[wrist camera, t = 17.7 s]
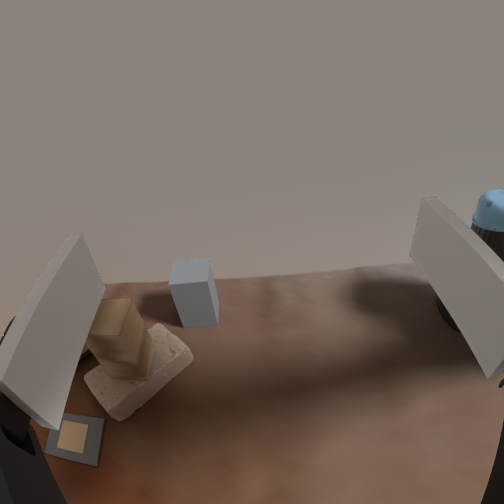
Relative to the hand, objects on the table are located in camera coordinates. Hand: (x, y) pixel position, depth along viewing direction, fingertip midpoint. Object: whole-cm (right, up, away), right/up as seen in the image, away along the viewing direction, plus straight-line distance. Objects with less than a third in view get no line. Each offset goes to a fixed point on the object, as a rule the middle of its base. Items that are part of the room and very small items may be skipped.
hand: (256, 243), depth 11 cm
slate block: (-9, -11, +41) cm, 44 cm away
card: (-26, -28, +21) cm, 43 cm away
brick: (-17, -20, +31) cm, 41 cm away
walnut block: (-17, -16, +28) cm, 37 cm away
